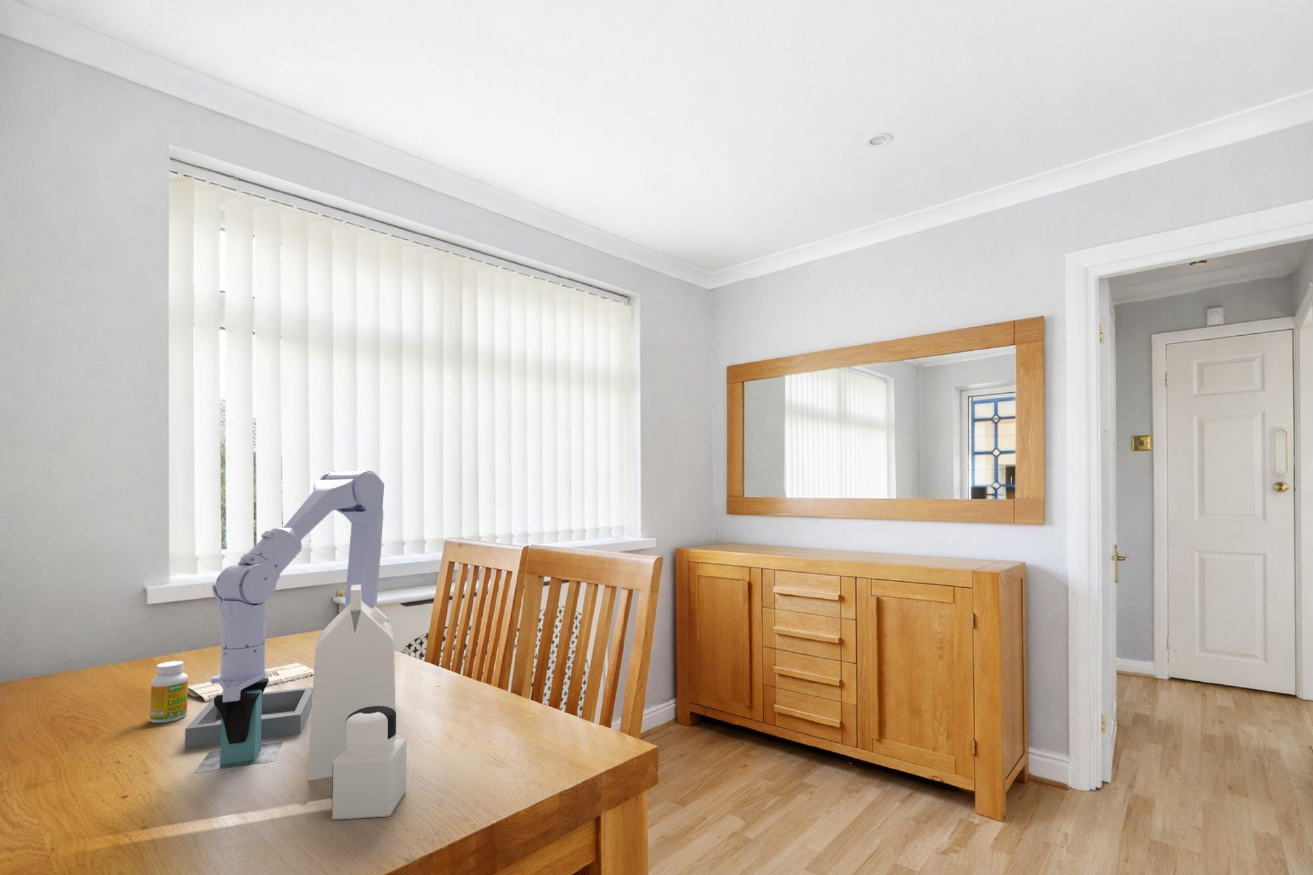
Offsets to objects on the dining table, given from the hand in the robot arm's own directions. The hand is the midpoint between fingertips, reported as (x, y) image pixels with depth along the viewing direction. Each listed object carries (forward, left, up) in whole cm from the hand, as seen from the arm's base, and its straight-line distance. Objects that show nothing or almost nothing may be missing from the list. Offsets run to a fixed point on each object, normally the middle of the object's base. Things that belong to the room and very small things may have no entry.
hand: (241, 736), depth 100 cm
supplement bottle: (+17, -28, -4) cm, 33 cm away
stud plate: (0, 0, -4) cm, 4 cm away
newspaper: (+8, -47, -5) cm, 48 cm away
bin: (+1, -15, -4) cm, 16 cm away
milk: (-16, +7, -4) cm, 18 cm away
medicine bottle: (-19, +22, -4) cm, 29 cm away
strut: (0, 0, -3) cm, 3 cm away
